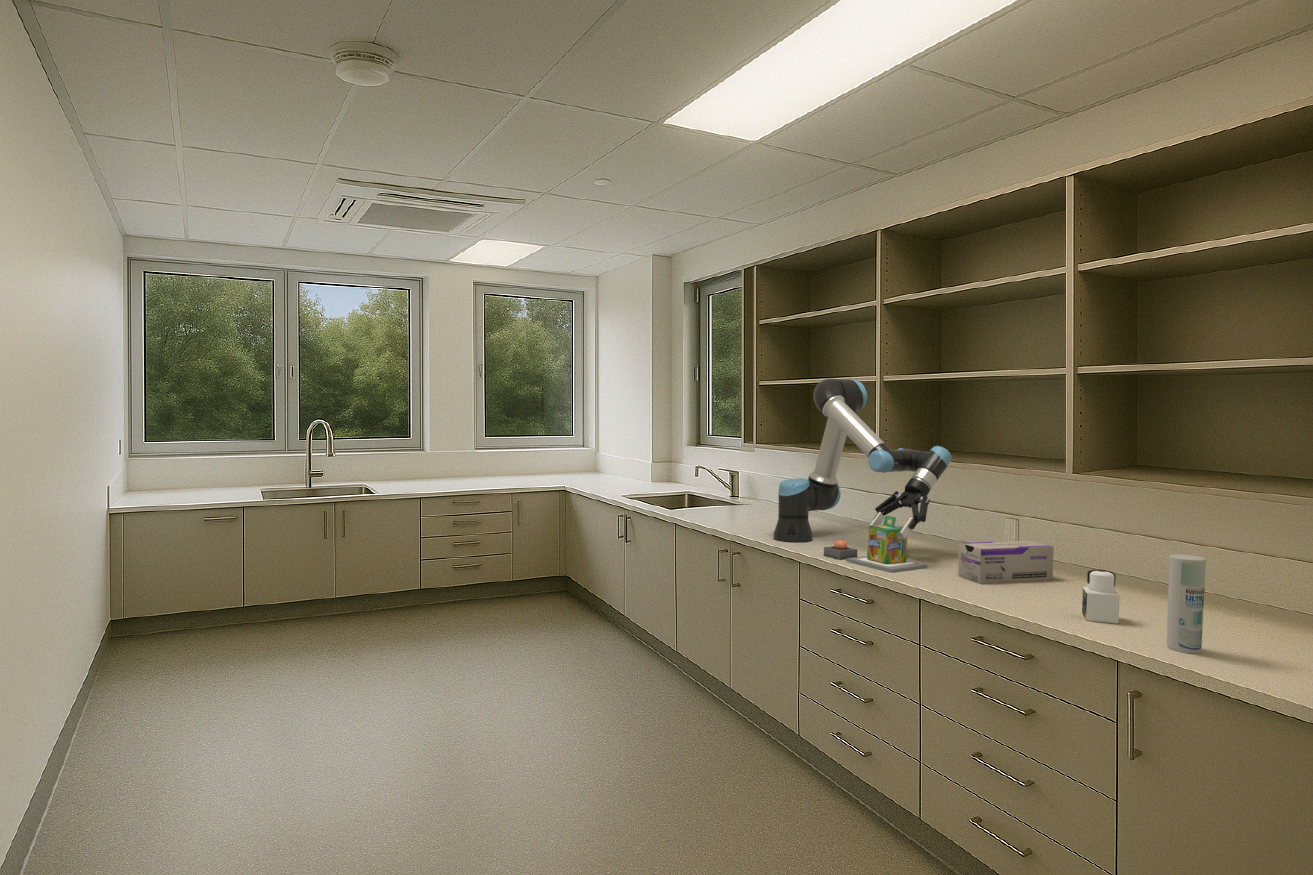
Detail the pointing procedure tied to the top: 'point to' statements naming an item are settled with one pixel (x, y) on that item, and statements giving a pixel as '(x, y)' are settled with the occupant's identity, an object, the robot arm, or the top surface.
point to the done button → (840, 544)
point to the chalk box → (887, 543)
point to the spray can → (1185, 603)
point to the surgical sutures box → (1005, 562)
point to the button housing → (840, 553)
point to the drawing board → (887, 567)
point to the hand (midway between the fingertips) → (886, 532)
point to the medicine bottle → (1100, 597)
